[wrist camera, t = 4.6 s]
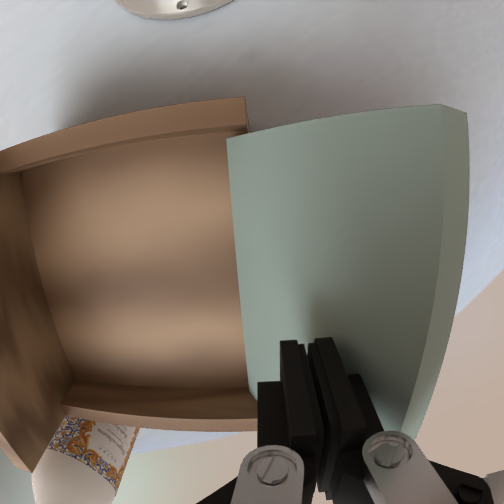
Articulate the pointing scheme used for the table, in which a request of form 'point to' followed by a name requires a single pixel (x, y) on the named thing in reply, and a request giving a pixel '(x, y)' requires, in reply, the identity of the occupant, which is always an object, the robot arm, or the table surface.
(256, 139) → the panel
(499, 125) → the table surface
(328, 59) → the table surface
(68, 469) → the bath foam
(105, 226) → the tray
